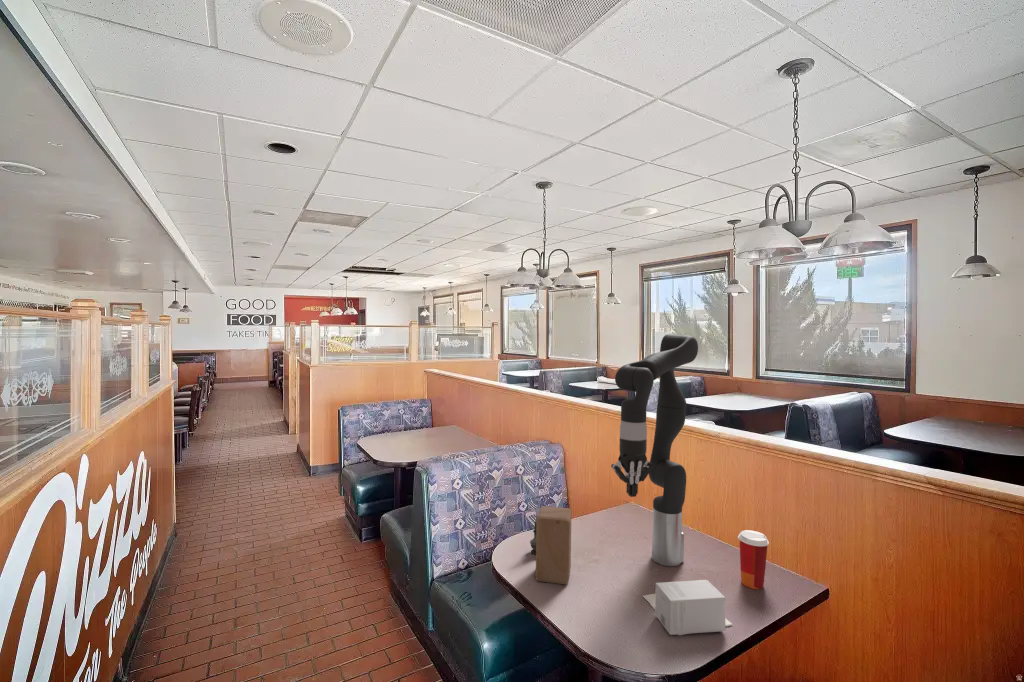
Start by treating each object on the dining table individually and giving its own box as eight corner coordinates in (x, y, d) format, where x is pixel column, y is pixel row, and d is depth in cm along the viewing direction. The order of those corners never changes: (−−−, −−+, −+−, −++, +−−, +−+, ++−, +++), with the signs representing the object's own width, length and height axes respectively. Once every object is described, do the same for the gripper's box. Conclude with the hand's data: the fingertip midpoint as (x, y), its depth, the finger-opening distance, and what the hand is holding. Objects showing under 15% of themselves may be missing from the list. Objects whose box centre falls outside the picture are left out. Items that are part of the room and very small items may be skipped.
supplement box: (670, 636, 115) (726, 632, 116) (670, 600, 115) (726, 597, 116) (654, 615, 124) (707, 611, 125) (654, 581, 124) (707, 578, 125)
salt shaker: (528, 548, 160) (529, 514, 160) (545, 548, 161) (545, 514, 160) (530, 556, 154) (531, 521, 154) (548, 556, 155) (548, 521, 155)
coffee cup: (764, 579, 142) (766, 531, 142) (770, 594, 134) (771, 543, 134) (734, 574, 145) (736, 527, 144) (738, 588, 137) (739, 538, 137)
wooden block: (568, 586, 137) (569, 520, 137) (535, 582, 139) (536, 517, 139) (570, 569, 147) (571, 507, 146) (539, 565, 149) (540, 504, 148)
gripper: (646, 432, 137) (645, 489, 138) (606, 434, 134) (605, 493, 134) (660, 438, 130) (659, 498, 131) (618, 440, 126) (617, 502, 127)
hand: (631, 495), depth 132 cm, fingers closed
